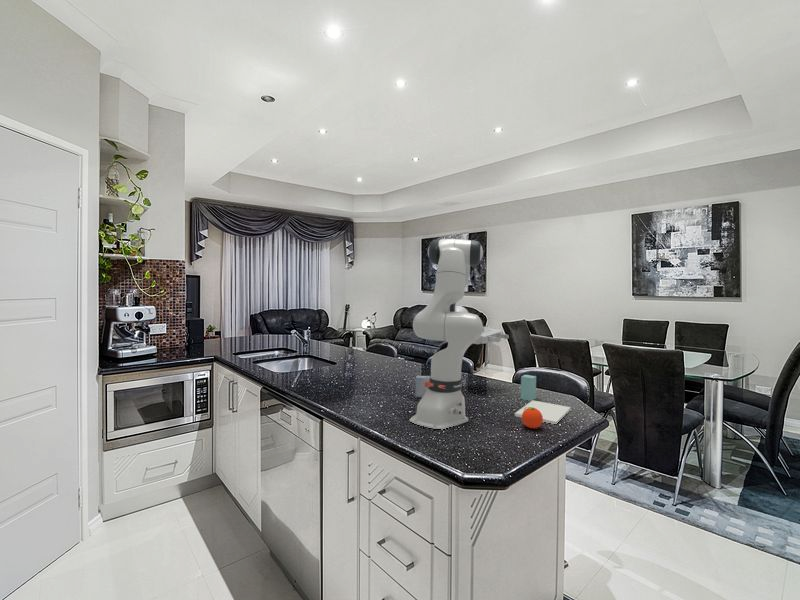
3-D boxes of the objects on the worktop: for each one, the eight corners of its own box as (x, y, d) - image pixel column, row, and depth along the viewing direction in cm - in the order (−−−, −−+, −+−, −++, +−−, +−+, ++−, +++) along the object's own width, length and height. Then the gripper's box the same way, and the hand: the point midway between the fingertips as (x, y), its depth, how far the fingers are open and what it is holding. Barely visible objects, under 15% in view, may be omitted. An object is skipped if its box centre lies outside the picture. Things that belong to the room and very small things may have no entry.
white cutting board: (556, 425, 139) (556, 421, 139) (514, 416, 148) (514, 413, 148) (570, 410, 157) (570, 407, 157) (532, 403, 166) (532, 400, 166)
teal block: (532, 401, 168) (532, 378, 168) (520, 399, 171) (521, 376, 171) (535, 398, 172) (536, 376, 172) (524, 396, 175) (524, 374, 175)
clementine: (515, 424, 139) (515, 404, 138) (530, 422, 141) (531, 402, 141) (531, 432, 131) (531, 411, 131) (547, 430, 134) (547, 409, 134)
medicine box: (433, 395, 174) (434, 376, 174) (433, 398, 170) (434, 378, 169) (415, 394, 175) (416, 375, 174) (415, 397, 170) (415, 377, 170)
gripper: (465, 330, 177) (494, 334, 169) (485, 325, 194) (513, 328, 185) (465, 344, 178) (494, 348, 170) (485, 338, 194) (512, 342, 186)
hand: (504, 338), depth 177 cm, fingers open, 8 cm apart
